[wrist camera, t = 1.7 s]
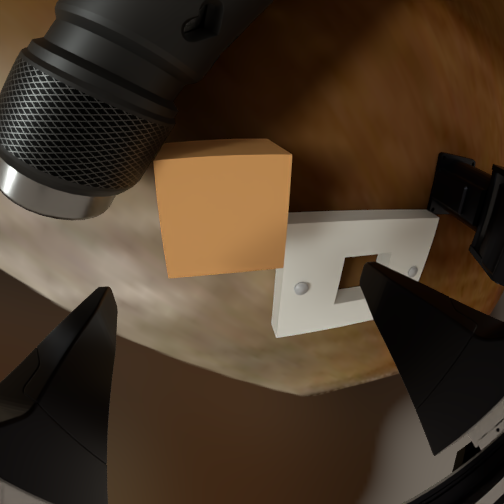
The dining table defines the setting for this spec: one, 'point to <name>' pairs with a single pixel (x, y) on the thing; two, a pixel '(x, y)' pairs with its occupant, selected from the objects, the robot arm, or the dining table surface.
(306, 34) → the dining table surface
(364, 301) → the socket plate
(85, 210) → the muzzle brake
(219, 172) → the plug
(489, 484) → the robot arm
